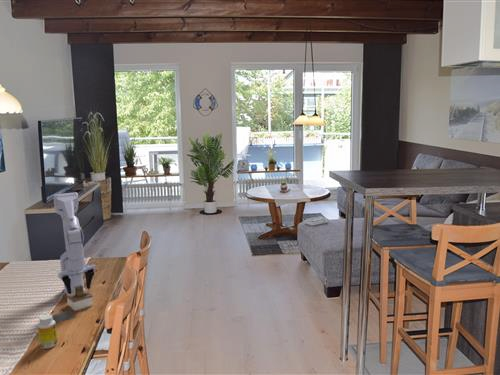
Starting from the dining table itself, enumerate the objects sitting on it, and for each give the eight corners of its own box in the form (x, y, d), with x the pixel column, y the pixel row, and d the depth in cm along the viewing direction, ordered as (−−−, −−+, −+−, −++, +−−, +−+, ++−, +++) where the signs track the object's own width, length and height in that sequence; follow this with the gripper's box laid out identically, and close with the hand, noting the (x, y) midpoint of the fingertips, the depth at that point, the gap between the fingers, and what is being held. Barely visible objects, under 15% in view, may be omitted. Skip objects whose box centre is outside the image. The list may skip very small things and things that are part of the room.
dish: (67, 305, 187) (67, 296, 186) (85, 300, 191) (85, 291, 191) (74, 311, 181) (73, 302, 180) (92, 306, 186) (92, 296, 185)
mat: (48, 316, 177) (48, 316, 177) (69, 310, 182) (69, 310, 182) (55, 323, 171) (55, 323, 171) (76, 317, 176) (76, 316, 176)
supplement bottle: (58, 346, 154) (55, 318, 152) (40, 350, 151) (36, 322, 150) (57, 339, 159) (54, 312, 157) (39, 343, 156) (36, 315, 155)
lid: (66, 296, 186) (65, 286, 185) (85, 291, 191) (84, 281, 190) (73, 302, 180) (72, 291, 179) (92, 296, 185) (92, 286, 184)
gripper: (61, 265, 175) (64, 298, 177) (97, 256, 185) (100, 288, 187) (55, 260, 181) (58, 293, 183) (90, 253, 190) (93, 284, 192)
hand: (79, 290), depth 185 cm, fingers open, 7 cm apart
